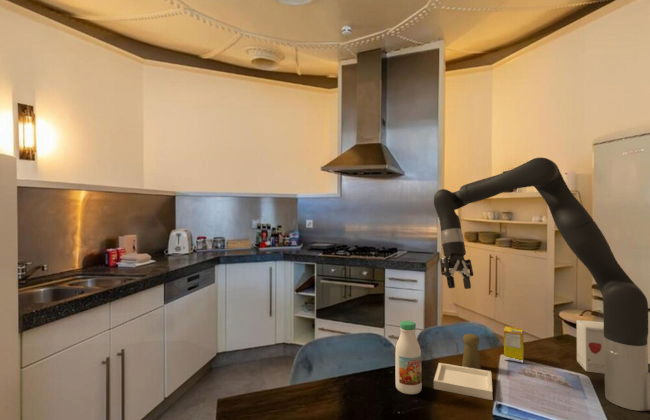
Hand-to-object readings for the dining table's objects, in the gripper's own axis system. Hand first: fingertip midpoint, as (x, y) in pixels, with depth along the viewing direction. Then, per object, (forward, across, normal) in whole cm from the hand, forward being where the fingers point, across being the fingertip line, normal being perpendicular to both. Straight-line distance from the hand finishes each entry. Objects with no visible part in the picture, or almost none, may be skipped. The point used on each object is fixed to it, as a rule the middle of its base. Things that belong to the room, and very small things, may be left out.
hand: (460, 288), depth 118 cm
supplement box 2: (+28, +42, -18) cm, 53 cm away
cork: (+26, +7, +6) cm, 28 cm away
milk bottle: (+30, -22, +7) cm, 38 cm away
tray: (+29, -6, 0) cm, 30 cm away
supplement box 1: (+25, +25, +1) cm, 36 cm away
